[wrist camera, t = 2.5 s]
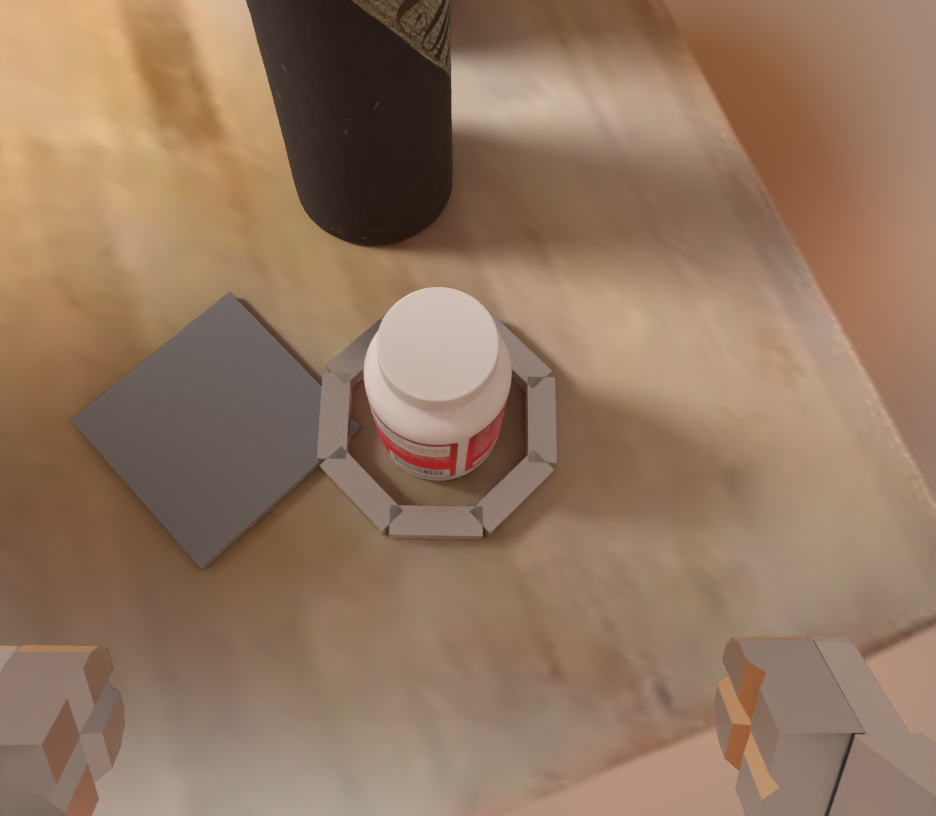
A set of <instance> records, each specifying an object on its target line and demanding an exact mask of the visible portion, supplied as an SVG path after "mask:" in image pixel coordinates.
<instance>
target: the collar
mask: <svg viewBox="0 0 936 816" xmlns="http://www.w3.org/2000/svg"><path fill="white" fill-rule="evenodd" d="M490 315H491V317H492V318H493V320H494V322H495V324H496V327H497V330H498V332H499V333H500V335H501V336H502V338H503V340H504V342H505V344H506V346H507V349H508V352H509V356H510V360H511V367H512V377H511V378H512V379H513V380H514V381H515V382H516V383H517V384H518V385H519V386H520V387H521V388H522V389H523V390H524V391H525V431H526V457H525V458H524V459H523V460H522V461H521V462H520V463H519V464H518V465H517V466H516V467H515V468H514V469H513V470H512V471H511V472H510V473H509V474H508V475H507V476H506V477H505V478H504V479H503V480H502V481H501V482H499V483H498V484H497V485H496V486H495V487H494V488H493V489H492V490H491V491H490V492H489V493H488V494H487V495H486V496H485V497H484V498H483V499H482V500H481V501H480V502H479V503H478V504H477V505H476V506H417V505H398V504H397V503H396V502H395V501H394V500H393V499H392V498H391V497H390V496H389V495H388V494H387V493H386V492H385V491H384V490H383V489H382V488H381V487H380V486H379V485H378V484H377V483H376V482H375V480H374V479H373V478H372V477H371V476H370V475H369V474H368V473H367V472H366V471H365V470H364V469H363V468H362V467H361V466H360V465H359V464H358V463H357V462H356V461H355V460H354V459H353V458H352V457H351V455H350V454H349V449H350V437H349V423H350V416H351V412H352V394H353V387H354V386H356V385H357V384H358V383H359V382H360V381H361V380H362V379H363V378H364V361H365V357H366V353H367V350H368V347H369V345H370V343H371V341H372V339H373V337H374V336H375V334H376V333H377V331H378V330H379V327H380V324H381V322H382V320H383V318H384V316H385V315H384V316H383V317H382V318H381V319H380V320H379V321H377V322H376V323H375V324H374V325H373V326H372V327H370V328H369V329H368V330H367V331H366V332H365V333H363V334H362V335H361V336H360V337H359V338H358V339H356V340H355V341H354V342H353V343H352V344H351V345H350V346H348V347H347V348H346V349H345V350H344V351H343V352H341V353H340V354H339V355H338V356H337V357H336V358H334V359H333V360H332V361H331V362H330V363H329V364H327V365H326V367H327V370H328V372H323V373H322V388H321V403H320V418H319V432H318V447H317V460H318V461H320V462H321V464H320V465H319V466H320V467H321V469H322V471H323V472H324V473H325V474H326V475H327V476H328V477H329V478H330V479H331V480H332V481H333V482H334V483H335V484H336V486H337V487H338V488H339V489H340V490H341V491H342V492H343V493H344V494H345V495H346V496H347V497H348V498H349V499H350V500H351V501H352V502H353V503H354V505H355V506H356V507H357V508H358V509H359V510H360V511H361V512H362V513H363V514H364V515H365V516H366V517H367V518H368V519H369V520H370V521H371V523H372V524H373V525H374V526H375V527H376V528H377V529H378V530H379V531H380V532H381V533H382V534H383V535H384V534H385V533H386V532H387V531H388V530H389V536H390V538H406V539H471V540H481V539H482V536H483V532H484V533H485V534H486V535H487V536H488V537H489V536H490V535H491V534H492V533H493V532H494V531H495V530H496V529H497V528H498V527H499V526H500V525H501V524H502V523H503V522H504V521H505V520H506V519H507V518H508V517H509V516H510V515H511V514H512V513H513V512H514V511H515V510H516V509H517V508H518V507H519V506H520V505H521V504H522V503H523V502H524V501H525V500H526V499H527V498H528V497H529V496H530V495H531V494H532V493H533V492H534V491H535V490H536V489H537V488H538V487H539V486H540V485H541V484H542V483H543V482H545V481H546V480H547V479H548V478H549V477H550V476H551V474H552V473H553V471H554V469H553V468H554V467H555V466H556V464H557V431H556V387H555V377H550V375H551V372H552V370H551V369H550V368H549V367H548V366H547V365H546V364H545V363H544V362H543V361H541V360H540V359H539V358H538V357H537V356H536V355H535V354H534V353H533V352H532V351H531V350H530V349H529V348H528V347H527V346H526V345H525V344H524V343H522V342H521V341H520V340H519V339H518V338H517V337H516V336H515V335H514V334H513V333H512V332H511V331H510V330H509V329H508V328H507V327H506V326H505V325H503V324H502V323H501V322H500V321H499V320H498V319H497V318H496V317H495V316H494V315H493V314H492V313H491V312H490Z"/></svg>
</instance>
